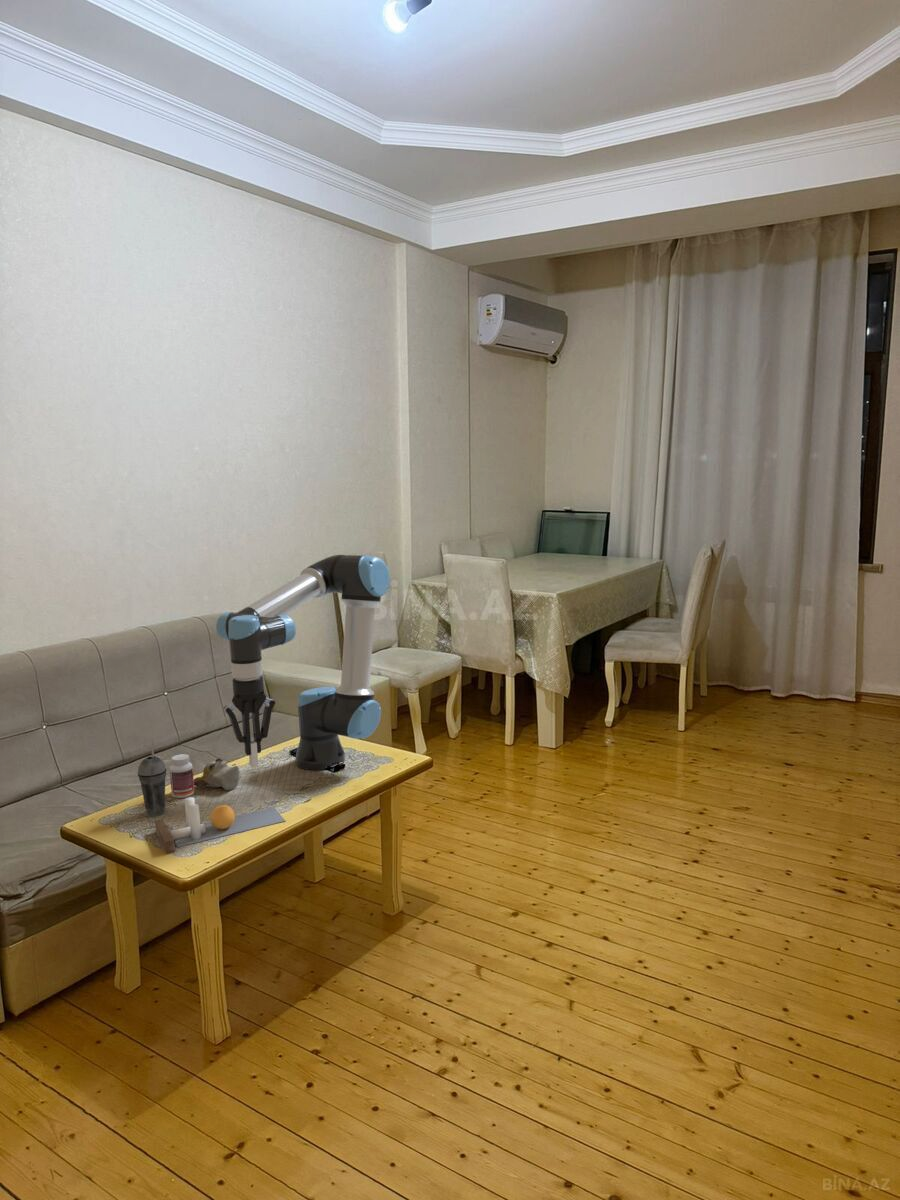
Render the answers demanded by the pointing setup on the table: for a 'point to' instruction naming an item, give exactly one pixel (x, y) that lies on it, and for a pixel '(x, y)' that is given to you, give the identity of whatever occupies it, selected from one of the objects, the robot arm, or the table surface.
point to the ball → (222, 817)
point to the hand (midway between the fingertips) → (254, 765)
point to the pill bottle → (181, 776)
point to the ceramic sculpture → (219, 775)
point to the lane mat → (237, 825)
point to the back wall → (164, 836)
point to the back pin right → (188, 802)
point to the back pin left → (195, 821)
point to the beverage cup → (153, 784)
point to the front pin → (185, 832)
